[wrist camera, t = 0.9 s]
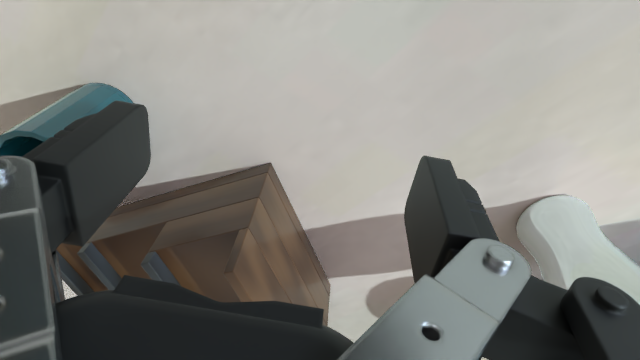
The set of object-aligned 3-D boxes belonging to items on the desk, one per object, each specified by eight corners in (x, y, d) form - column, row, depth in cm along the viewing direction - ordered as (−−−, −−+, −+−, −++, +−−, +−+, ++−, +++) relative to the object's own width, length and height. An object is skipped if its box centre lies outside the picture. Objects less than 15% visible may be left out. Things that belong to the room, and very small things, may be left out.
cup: (57, 95, 32) (-29, 145, 25) (115, 72, 31) (42, 119, 24) (100, 154, 35) (34, 215, 28) (155, 136, 34) (100, 195, 26)
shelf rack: (48, 226, 40) (-62, 336, 29) (271, 162, 34) (232, 271, 24) (134, 324, 47) (71, 440, 37) (330, 285, 41) (321, 409, 31)
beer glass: (538, 265, 38) (629, 438, 25) (493, 222, 36) (568, 388, 23) (613, 224, 35) (758, 397, 22) (569, 174, 33) (703, 336, 20)
